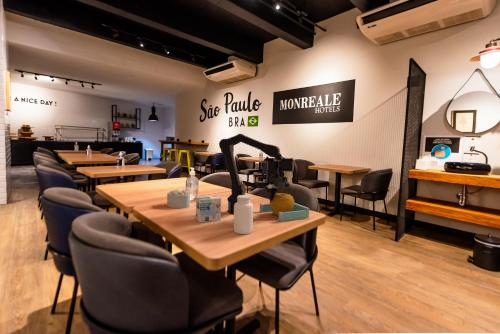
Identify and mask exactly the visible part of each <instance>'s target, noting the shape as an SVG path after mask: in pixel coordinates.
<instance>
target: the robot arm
mask: <svg viewBox="0 0 500 334" xmlns="http://www.w3.org/2000/svg"><path fill="white" fill-rule="evenodd" d="M240 143H242V144H245V145H248V146H250V147H251V148H255V149H258V150H259V151H261V152H263V154H265V155H267V156H266V157H265V158H264V159H263V162H266V163H267V164H266V171H265V172H264V173H265V175H266V179H265V180H264V181H262V180H258V181H257V180H255V181H254V182H253V185H252V187H253V188H256V189H264V190H265V192H266V195H267V196H268V200H269V202H270V201H272V200H273V198H274V195H275V194H276V193H277V192H278V191H279V190H281V188H284V187H285V188H290V187H291V183H290V182H289V181H288V177H287V176H282V177H281V173H280V172H279V170H281V172H289V173H293V172H294V166H295V165H294V158H293V157H289V158H287V157H283V155H282V153H281V149H280V147H279V146H278V145H273V144H269V143H264V142H263V141H262V142H261V141H260V140H256V139H254V138H252V137H249V136H247V135H245V134H243V133H237V134H236V135H233V136H231V137H228V138H223V139H220V141H219V143H218V145H219V148H220V151H221V153H222V154H223V156H224V158H225V161H226V166H227V169H228V173H229V177H230V182H231V188H230V190H231V194H230V195H229V196H228V197H227V199H226V200H227V204H228V205H227V210H226V212H227V213H228V214H230V215H234V205H235V203H236V202H238V201H237V197H238V196H240V195H246V191H247V188H246V183H244V182H243V183H242V182H241V179H240V175H239V171H238V167H237V163H236V160H235V156H234V151H235V146H236V145H238V144H240Z"/></svg>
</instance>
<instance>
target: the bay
mask: <svg viewBox="0 0 500 334" xmlns="http://www.w3.org/2000/svg"><path fill="white" fill-rule="evenodd" d="M259 212H260V213H266V212H272V210H271V207H270V203H259ZM277 217H278V219H277V221H278V222H279V223H280V222H281V223H282V222H288V221H296V220H302V219H309V218H310V207H307V206H304V205H301V204H298V203H296V202H294V207H293V209H292V211H291V212H284V213H282V212H279V216H277Z"/></svg>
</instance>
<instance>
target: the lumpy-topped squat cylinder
mask: <svg viewBox="0 0 500 334" xmlns="http://www.w3.org/2000/svg"><path fill="white" fill-rule="evenodd" d="M168 206H170V208H172V207H173V209H189V208H190V207H191V193H190V192H188V190H186V189H182V190H180V189H175V190H174V189H173V190H171V191H169V192H167V193H166V207H168Z"/></svg>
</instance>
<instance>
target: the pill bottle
mask: <svg viewBox="0 0 500 334" xmlns="http://www.w3.org/2000/svg"><path fill="white" fill-rule="evenodd" d="M237 201H238V202H236V203H235V205H234V214H233V232H234V233H236V234H239V235H249V234H250V233H252V232H253V225H254V224H253V223H254V221H253V219H254V217H253V216H254V205H253V203H252V202H251V196H250V195H247V194H245V195H240V196H238V197H237Z"/></svg>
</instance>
